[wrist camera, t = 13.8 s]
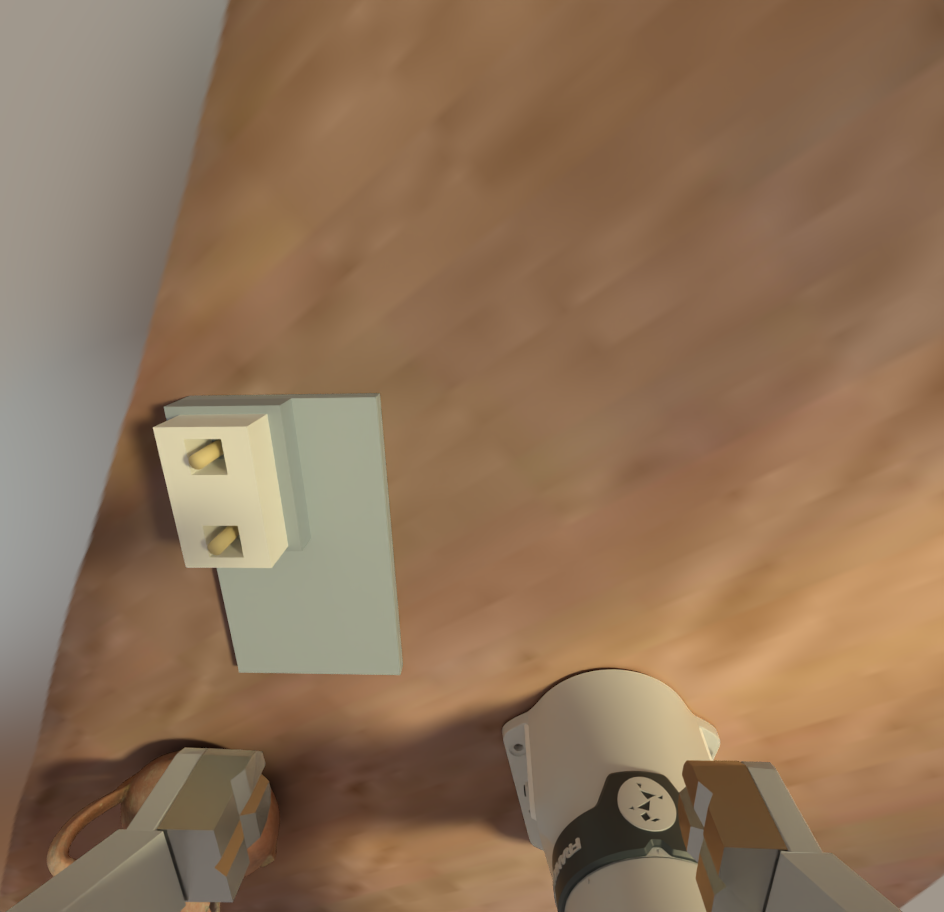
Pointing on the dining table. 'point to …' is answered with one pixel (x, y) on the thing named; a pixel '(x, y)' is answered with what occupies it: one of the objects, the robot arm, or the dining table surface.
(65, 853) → the ceramic jug
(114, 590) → the dining table surface
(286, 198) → the dining table surface
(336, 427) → the grey-green stepped plate
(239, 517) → the two-hole cream block
